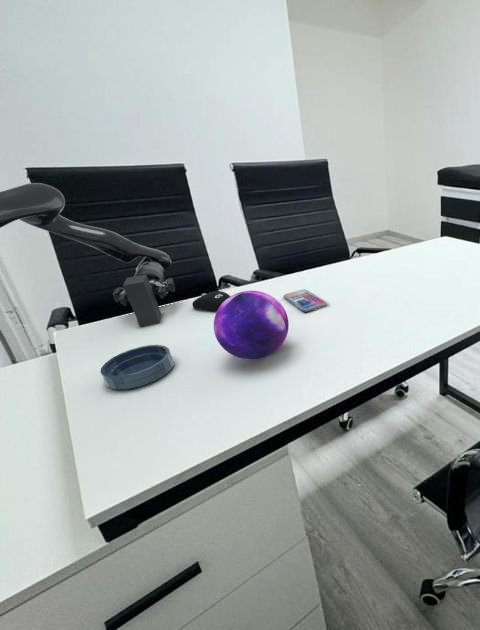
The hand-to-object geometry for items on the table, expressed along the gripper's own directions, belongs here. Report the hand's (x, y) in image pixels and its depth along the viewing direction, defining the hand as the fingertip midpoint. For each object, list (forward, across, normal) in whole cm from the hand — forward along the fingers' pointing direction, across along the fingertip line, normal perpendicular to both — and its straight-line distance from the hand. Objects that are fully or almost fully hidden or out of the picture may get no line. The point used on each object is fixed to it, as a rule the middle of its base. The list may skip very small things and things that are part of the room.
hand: (142, 298), depth 104 cm
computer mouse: (0, +16, +7) cm, 18 cm away
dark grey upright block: (0, 0, +6) cm, 6 cm away
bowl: (+30, +1, +6) cm, 31 cm away
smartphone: (+12, +40, +6) cm, 42 cm away
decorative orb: (+35, +24, +7) cm, 43 cm away
